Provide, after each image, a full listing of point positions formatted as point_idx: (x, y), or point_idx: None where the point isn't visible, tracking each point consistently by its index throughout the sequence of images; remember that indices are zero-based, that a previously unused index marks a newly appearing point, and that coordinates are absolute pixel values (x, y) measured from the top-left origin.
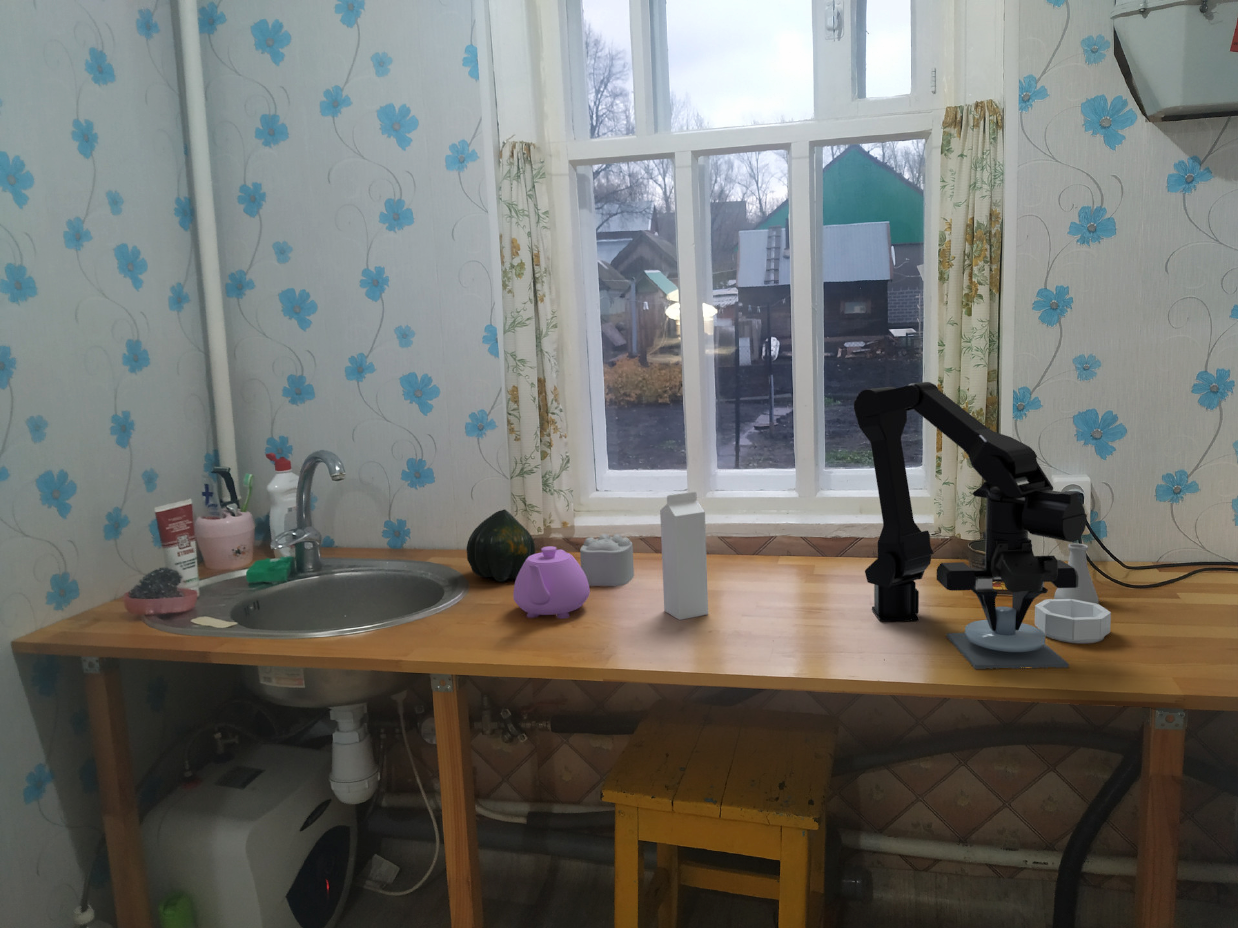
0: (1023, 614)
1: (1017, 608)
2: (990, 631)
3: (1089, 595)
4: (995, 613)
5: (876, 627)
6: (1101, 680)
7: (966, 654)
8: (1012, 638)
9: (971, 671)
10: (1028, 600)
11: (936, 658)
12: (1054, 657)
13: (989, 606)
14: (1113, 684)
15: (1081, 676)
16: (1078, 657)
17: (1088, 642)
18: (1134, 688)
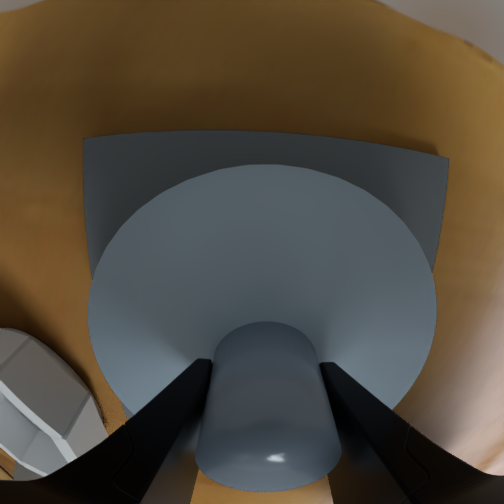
0: (154, 411)
1: (181, 461)
2: None
3: (21, 469)
4: (362, 423)
5: (465, 434)
6: (56, 43)
7: (431, 264)
8: (266, 278)
9: (455, 142)
10: (87, 486)
11: (490, 265)
12: (106, 201)
13: (427, 452)
14: (47, 24)
15: (90, 63)
16: (39, 233)
17: (9, 328)
18: (23, 14)
